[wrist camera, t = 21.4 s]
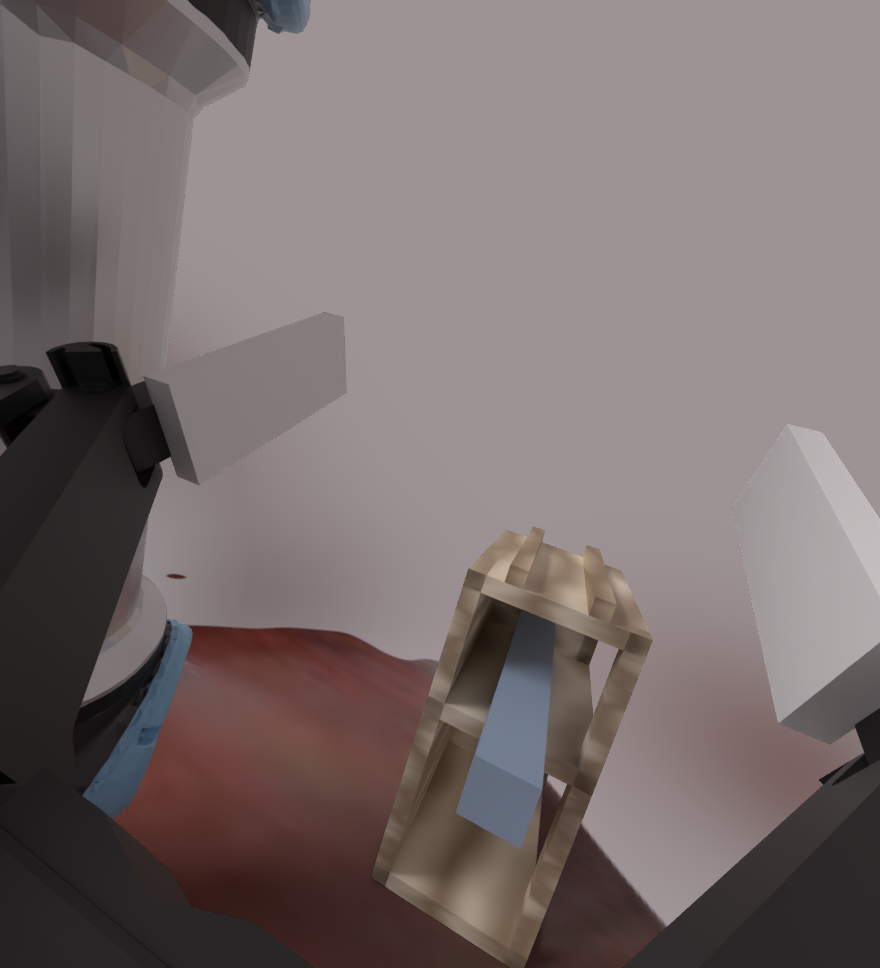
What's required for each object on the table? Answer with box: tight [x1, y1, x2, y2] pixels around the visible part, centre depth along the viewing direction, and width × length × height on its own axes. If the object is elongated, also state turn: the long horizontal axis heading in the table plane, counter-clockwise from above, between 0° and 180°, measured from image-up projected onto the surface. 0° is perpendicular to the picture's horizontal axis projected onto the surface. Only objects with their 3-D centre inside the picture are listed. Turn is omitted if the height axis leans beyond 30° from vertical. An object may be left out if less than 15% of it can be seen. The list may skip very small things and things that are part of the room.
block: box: [456, 610, 556, 848], centre depth 37 cm, size 4×26×4 cm, turn 162°
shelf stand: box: [371, 527, 653, 968], centre depth 43 cm, size 14×20×32 cm
